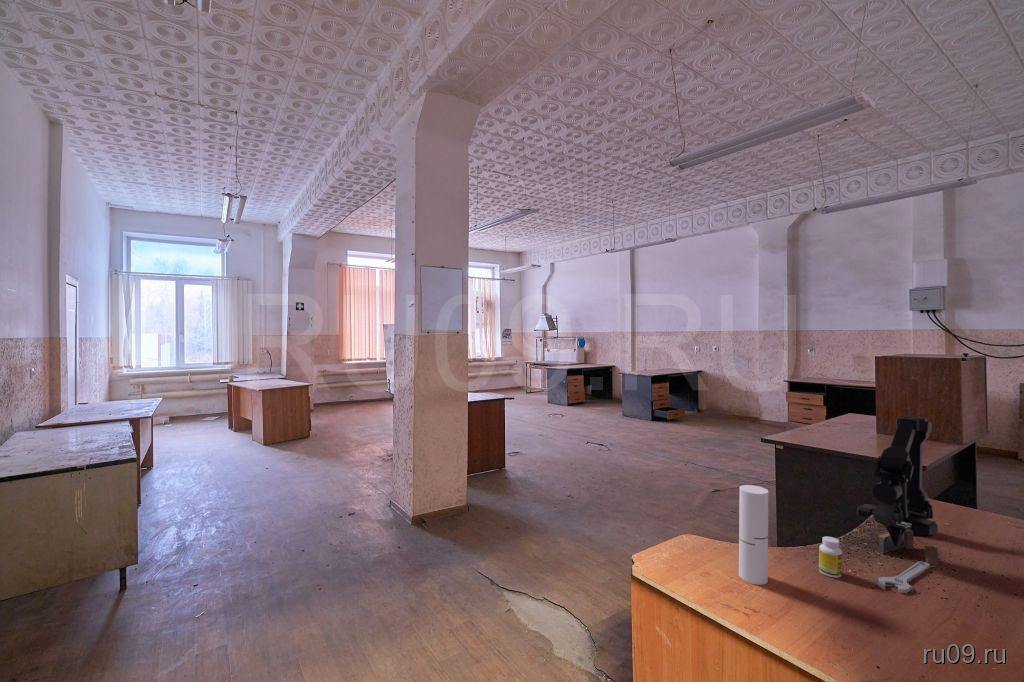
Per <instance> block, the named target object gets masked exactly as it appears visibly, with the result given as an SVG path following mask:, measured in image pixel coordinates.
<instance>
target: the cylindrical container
mask: <svg viewBox="0 0 1024 682" xmlns="http://www.w3.org/2000/svg"><path fill="white" fill-rule="evenodd" d="M738 502H739V503H738V504H739V505H738V506H739V510H738V511H739V512H738V513H739V514H738V515H739V516H738V517H739V520H738V521H739V523H738V526H739V527H738V528H739V530H738V533H739V534H738V535H739V537H738V543H739V544H738V550H739V551H738V576H740V577H741V578H742V579H743V580H742V579H741V578H740V577H739V578H740V579H741V580H742V581H744V580H745V582H746V581H747V582H746V583H748V582H749V584H752V585H758V586H762V585H766V584H767V583H768V579H769V576H768V573H769V571H768V570H769V566H768V565H769V563H768V562H769V561H768V560H769V556H768V555H769V490H768V489H767V488H765V487H763V486H760V485H759V486H758V485H753V484H752V485H751V484H745V485H741V486H739V500H738Z"/></svg>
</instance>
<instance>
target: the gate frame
mask: <svg viewBox="0 0 1024 682" xmlns="http://www.w3.org/2000/svg"><path fill="white" fill-rule="evenodd" d="M914 536H915V535H914V531H912V530H910V529H908V530H907V531H906V532H905V533H904V546H902V547H903V548H904V549H908V550H911V549H914ZM938 551H939V548H937V547H936V546H932V545H931V546H925V556H924V557H925V558H924V559H925V561H924V562H926V563H928V564H930V566H937V567H938Z"/></svg>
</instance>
